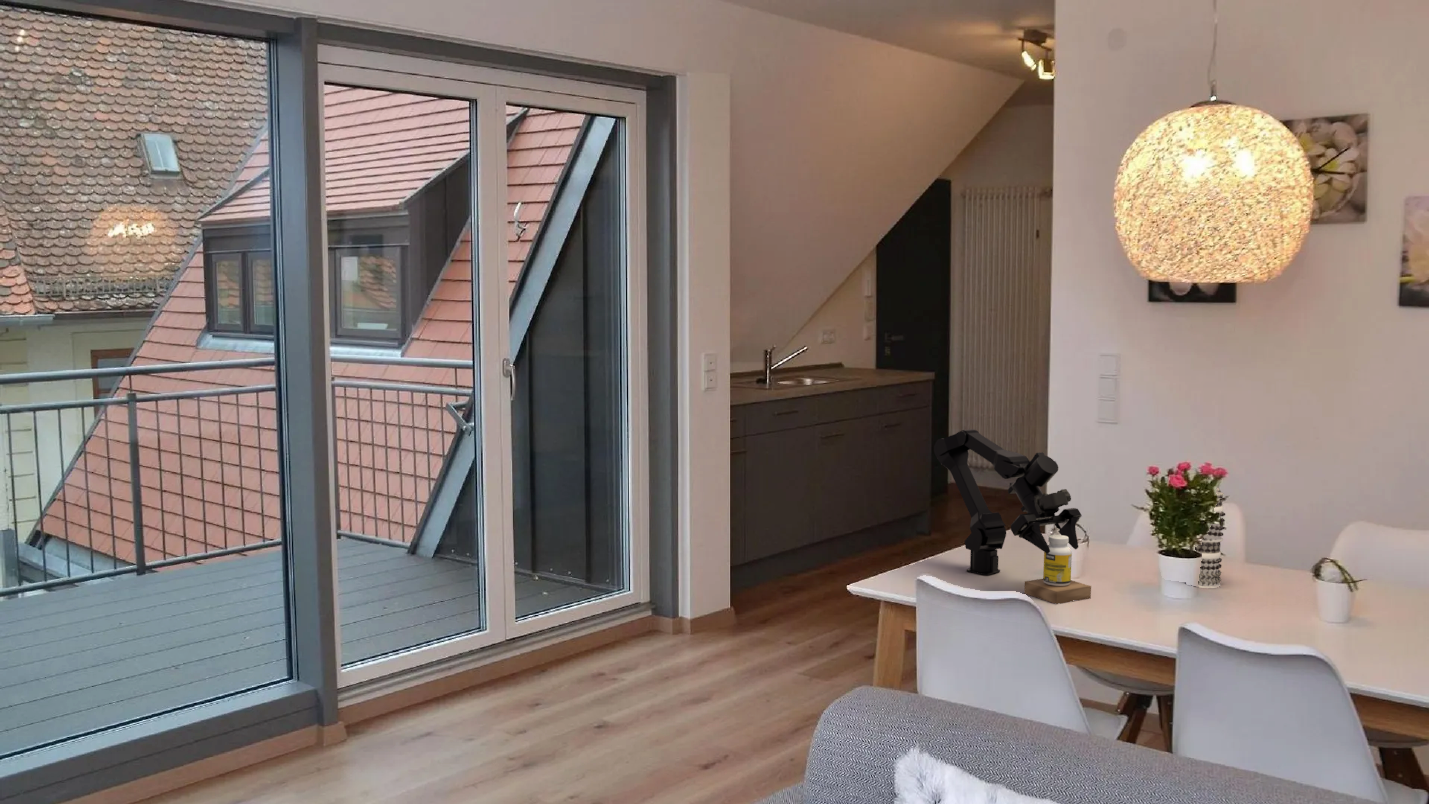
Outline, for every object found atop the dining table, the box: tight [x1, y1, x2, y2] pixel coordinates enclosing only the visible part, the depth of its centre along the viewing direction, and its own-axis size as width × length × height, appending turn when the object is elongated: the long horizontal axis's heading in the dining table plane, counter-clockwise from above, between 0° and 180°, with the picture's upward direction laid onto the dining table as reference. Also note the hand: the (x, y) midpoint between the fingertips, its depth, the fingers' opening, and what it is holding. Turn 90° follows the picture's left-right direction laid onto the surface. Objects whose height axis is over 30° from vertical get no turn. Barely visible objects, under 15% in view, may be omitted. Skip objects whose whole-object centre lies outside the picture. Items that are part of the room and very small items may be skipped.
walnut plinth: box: [1023, 578, 1092, 605], centre depth 292 cm, size 11×11×3 cm
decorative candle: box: [1195, 486, 1226, 589], centre depth 303 cm, size 9×9×25 cm
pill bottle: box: [1042, 534, 1073, 586], centre depth 292 cm, size 6×6×12 cm
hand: (1062, 550), depth 290 cm, fingers open, 9 cm apart
